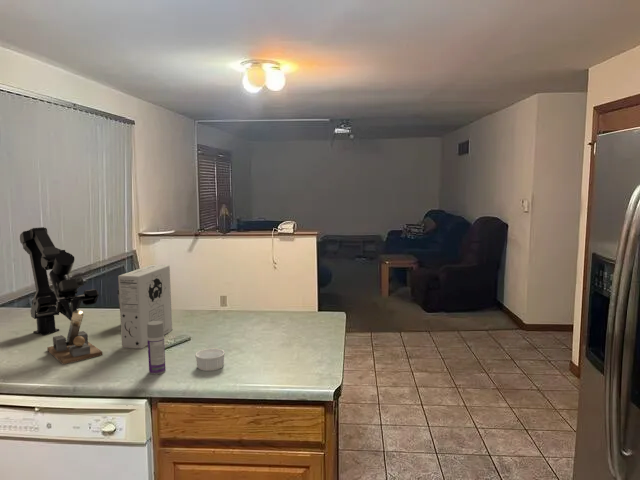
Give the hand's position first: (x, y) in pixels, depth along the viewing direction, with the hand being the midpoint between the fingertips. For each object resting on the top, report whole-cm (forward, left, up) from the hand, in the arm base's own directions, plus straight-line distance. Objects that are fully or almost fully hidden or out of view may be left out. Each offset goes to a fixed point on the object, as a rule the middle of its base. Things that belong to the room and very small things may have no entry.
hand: (74, 322), depth 168 cm
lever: (-5, +2, -8) cm, 10 cm away
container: (+35, +2, -11) cm, 37 cm away
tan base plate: (-2, +1, -11) cm, 11 cm away
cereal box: (+8, +23, -11) cm, 27 cm away
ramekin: (+46, +13, -11) cm, 49 cm away
